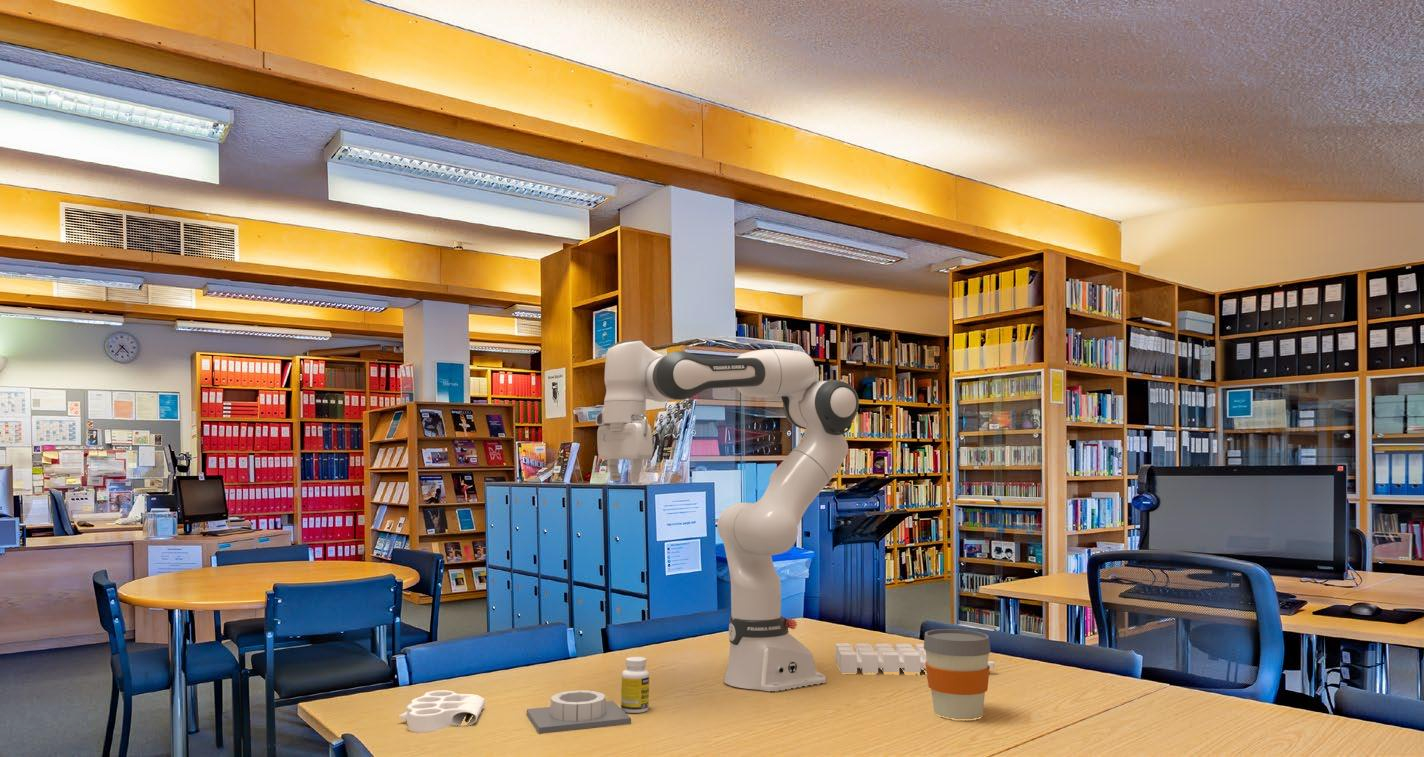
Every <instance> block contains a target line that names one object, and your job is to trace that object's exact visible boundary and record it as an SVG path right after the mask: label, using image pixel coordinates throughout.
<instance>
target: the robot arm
mask: <svg viewBox="0 0 1424 757" xmlns="http://www.w3.org/2000/svg"><path fill="white" fill-rule="evenodd" d="M604 363H605V364H604V365H605V366H604V385H605V390H606V391H605V397H604V399H603V400H604V402H603V408H602V409H601V411H600V412H598V414H597V415H596V417H595V425H597V426H598V429H597V432H596V433H597V435H596V437H597V439H596V441H597V454H598V457H599V459H600V460H607V464H606V465H607V468H608V471H609V472H608V473H609V481H611V482H620V481H621V472H619V464H620V460H629V461H630V463H629V464H630V466H631V467H630V473H628V482H631V483H638V482H640V473H641V470H642V467H643V460H651V458H652V456H653V454H654V451H653V448H654V447H653V435H652V434H653V433H652V427H651V424H649V422H648V421H649V420H648V419H647V417H646V414H647V410H646V409H647V408H646V407H647V402H646V401H647V400H650V401H651V400H652V401H653V402H654V401H655V402H659V403H663V402H665V403H666V402H670V401H678V400H679V401H683V400H688V399H690V398H693V397H695V396H696V395H698V394H700V393H701V392H703V391H705V390H710V389H711V390H712V389H713V390H715V389H731V388H735V389H737V391H738V392H740V394H742V395H743V396H744V397H751V398H760V399H761V398H765V399H766V398H778V397H779V398H780V399H781V401H782V408H783V412H784V415H785V418H786V419H787V421H788V422H789V423H790V424H791V425H793V426H794V427H796V428H799V429H803V430H804V435H803V437H802V439H801V440H800V442H799V443H797V445H796V446H795V447H794V448H793V449H792V451H790V453H789V454H788V455H787V456H786V457H785V458H784V459H783V460H782V462H781V463H780V464H779V465H778V466H777V467H776V468H775V469H774V470H773V471H772V473H771V474H770V476H769V483H768V485H767V487H766V489H765V491H764V493H763V495H762V496H761V498H759V499H758V500H757V501H756V502H738V503H734V504H732V505H730V506H728V507H726V508H725V509H723V511H721V513H720V514H719V517H718V520H717V524H716V525H717V533H718V535H719V537H720V539H721V540H722V543H723V547H724V550H725V555H726V561H727V566H728V572H729V576H730V577H729V578H730V603H731V604H730V606H731V607H730V609H731V610H730V612H731V613H730V614H731V615H730V616H729V622H728V624H729V625H728V638H729V644H730V645H729V654H728V660H727V661H728V662H727V667H726V672H725V675H724V678H723V682H724V683H725V684H726V685H728V686H731V687H734V688H739V689H747V690H759V691H764V692H765V691H766V692H770V691H775V692H780V691H779V690H781V691H786V690H785V689H787V690H792V689H791V688H793V689H797V688H796V687H799V688H803V687H802V686H805V687H808V686H807V685H811V686H814V685H813V684H817V685H821V684H820V683H823V684H826V683H827V677H826V676H825V675H824V674H823V673H822V672H820V671H818V670H817V669H816V663H815V658H814V654H813V653H812V651H811V650H810V649H809V648H808V647H807V646H805V645H804V644H803V643H802V642H800V641H799V640H798V639H797V638H795V636H793V635H792V634H790V633H789V629H790V630H795V629H796V628H797V627H798V621H796V620H795V619H792V618H788V619H787V617H784V616H783V615H782V583H781V578H780V577H779V575H778V573H777V571H776V569H775V565H774V561H773V558H772V556H776V555H781V554H784V553H786V552H788V551H790V550H791V549H792V548H793V547H794V545H795V543H796V541H797V540H798V534H799V524H800V522H801V520H802V518H803V516H804V514H805V513H806V511H807V509H808V507H809V506H811V504H812V503H813V502H814V500H815V499H816V498H817V496H818V495H819V494H820V493H821V491H823V489H824V488H825V487H826V486H827V485H828V484H829V482H831V480H832V478H833V477H834V476H835V474H836V473H837V472H838V470H839V469H840V467H841V466H842V464H843V462H844V461H845V458H846V456H847V455H848V452H849V445H848V441H847V439H846V438H845V436H844V434H846V433H848V432H849V431H850V430H851V429H852V425H853V421H854V420H855V418H856V416H857V414H858V412H859V411H858V410H859V407H860V405H859V404H860V401H859V400H860V399H859V394H858V393H857V391H856V389H855V388H854V387H853V386H852V385H851V384H849V383H848V382H845V381H842V380H838V379H831V380H820V379H819V378H818V376H817V375H816V365H815V362H814V360H813V358H812V356H810V355H809V354H808V353H806V352H804V351H799V350H793V349H786V348H785V349H784V348H769V349H767V348H766V349H765V348H764V349H757V350H751V351H746V352H744V353H741V354H739V355H738V356H737V357H735V358H709V359H708V358H703V357H699V356H697V355H695V354H693V353H691V352H687V351H682V350H681V351H680V350H678V351H672V352H670V353H668V354H666V355H663V354H660V353H659V352H656V351H654V349H651V348H650V347H649V346H647V345H646V344H645V343H644V342H643V341H642V340H640V339H629V340H623V341H618V342H615V343H614V344H612V345H610V346H609V347H608V349H607V351H606V356H605V362H604ZM825 682H826V683H825Z"/></svg>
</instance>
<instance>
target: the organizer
mask: <svg viewBox="0 0 1424 757" xmlns="http://www.w3.org/2000/svg"><path fill="white" fill-rule="evenodd" d="M874 647H875V648H873V647H872V645H871V643H866V642H863V643H858V642H857V643H856V642H855V645H854V648H853V646H852V645H851V643H849V642H846V643H845V642H844V643H843V642H842V643H841V642H840V643H838V642H836V643H835V663H836V662H837V664H838V665H837V664H836V665H837V667H838V666H839V668H840V670H839V672H840V671H841V672H840V674H841V673H857V674H858V669H859V668H861V670H860V672H861V671H862V672H863V673H869V672H870V673H872V672H873V673H878V674H879V669H880V668H882V670H883V672H899V673H900V668H902V669H903V670H904V671H905V672H919V673H920V672H921V671H922V670H921V668H923V669H924V670H925V671H926V665H925V663H926V662H927V657H926V650H925V649H924V643H915V644H914V647H913V646H912V645H911V644H910V643H894V647H893V646H892V644H891V643H875V645H874ZM988 665H989V666H990V670H995V662H994V661H992V660H991V661H989V660H988ZM839 668H838V669H839ZM882 670H881V671H882ZM921 673H922V672H921ZM926 673H927V672H926Z"/></svg>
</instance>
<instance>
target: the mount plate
mask: <svg viewBox="0 0 1424 757" xmlns="http://www.w3.org/2000/svg"><path fill="white" fill-rule="evenodd" d="M526 716H527V717H528V718H529V721H531V723H532V725H533V726H534V728H535V729H536V731H537V733H538V734H546V733H547V734H549V733H557V732H565V731H566V732H567V731H574V730H575V731H576V730H584V729H593V728H594V729H595V728H603V727H611V726H613V727H614V726H624V725H629V724H632V717H631V716H630V715H629V714H627V712H624V711H623V710H622V709H621V706H619V705H618V704H617V703H616V702H615V701H614V700H606V695H605V694H604V693H602V692H599V691H595V690H593V691H592V690H585V689H584V690H583V689H582V690H569V691H568V690H567V691H563V692H559V693H556V694H553V695H552V696H551V697H550V706H543V707H537V708H536V707H534V708H526Z"/></svg>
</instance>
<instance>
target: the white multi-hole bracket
mask: <svg viewBox="0 0 1424 757" xmlns="http://www.w3.org/2000/svg"><path fill="white" fill-rule="evenodd" d="M485 703H486V698H483V697H482V696H480V695H478V694H473V693H472V694H471V693H456V692H455V691H452V690H443V689H442V690H432V691H431V690H430V691H427V692H425V693H424V694H423V695H421V696H418V697H416V698H413V699H412V700H410V703H409V704H407V706H406V707H405V709H406V711H405V712H402V714H399V715H398V716H397V717H398V718H401V719H402V720H405V721H407V722H406V725H408V724H409V725H408V726H407V727H408V729H409V730H410V732H412V731H414V732H413V733H430V732H429V731H432V732H436V730H437V731H440V730H442V729H444V728H447V726H449V727H454V726H453V725H456V726H455V727H465V726H464V725H463V726H462V725H461V723H462V721H463V719H464V717H465V716H466V715H467V713H468V714H471V715H472V714H473V717H472V719H471V720H470V722H469V723H468V724H467V726H468V727H469V726H472V725H473V724H475V723H476V722H478V719H479V715H481V713H482V710H483V708H484V707H485V705H486V704H485ZM467 716H468V715H467ZM451 725H452V726H451ZM457 725H458V726H457ZM467 726H466V727H467ZM443 727H444V728H443ZM441 728H442V729H441ZM439 729H440V730H439ZM409 730H408V731H409Z"/></svg>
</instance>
